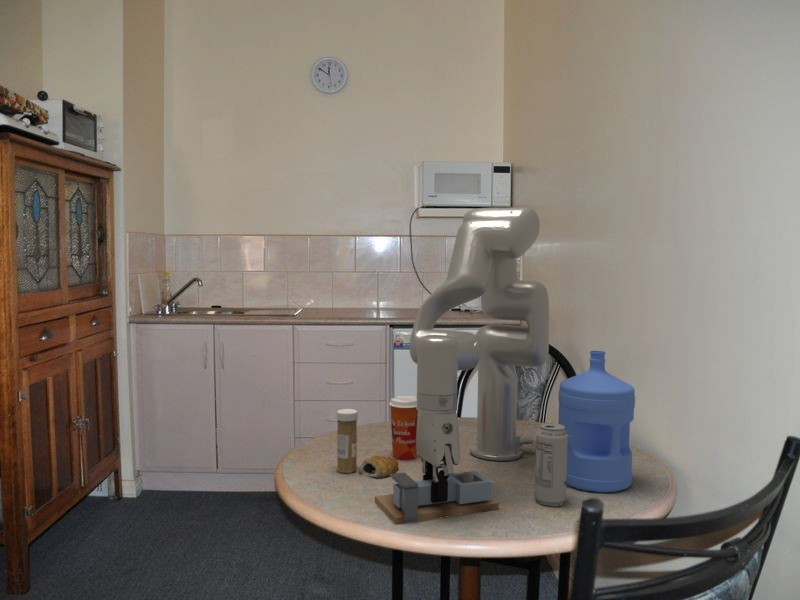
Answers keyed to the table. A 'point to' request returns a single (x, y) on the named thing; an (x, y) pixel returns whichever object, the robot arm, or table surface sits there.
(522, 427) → the table surface
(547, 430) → the energy drink can
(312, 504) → the table surface
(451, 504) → the board
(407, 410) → the paper cup
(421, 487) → the link
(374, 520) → the table surface
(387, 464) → the pastry
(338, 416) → the sprinkles bottle
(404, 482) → the keeper
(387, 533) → the table surface
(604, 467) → the water jug
